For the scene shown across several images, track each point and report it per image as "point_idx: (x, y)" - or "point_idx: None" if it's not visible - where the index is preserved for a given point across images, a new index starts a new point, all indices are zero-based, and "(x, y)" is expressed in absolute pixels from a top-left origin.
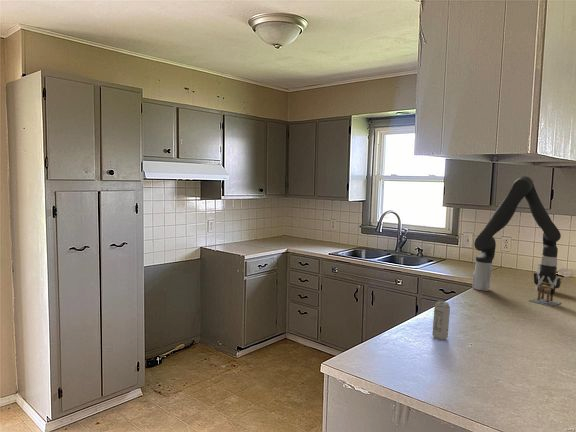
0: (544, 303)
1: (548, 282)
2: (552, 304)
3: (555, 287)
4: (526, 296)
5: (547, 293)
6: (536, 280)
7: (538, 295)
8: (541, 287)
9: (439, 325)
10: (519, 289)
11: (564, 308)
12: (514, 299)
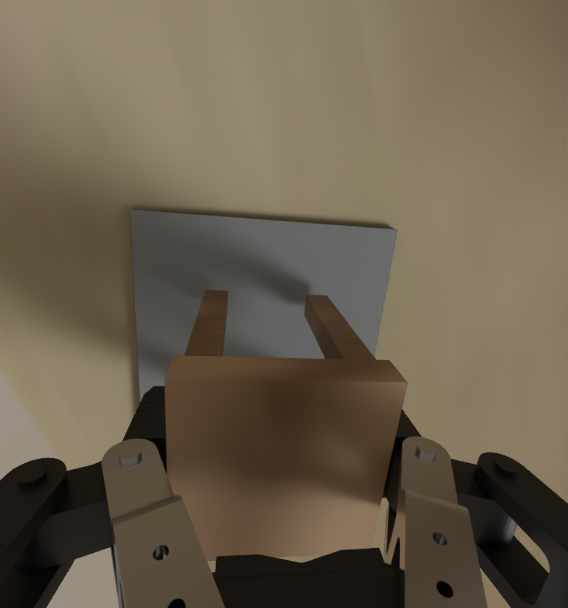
0: (234, 254)
1: (236, 556)
2: (162, 296)
3: (60, 472)
4: (453, 394)
5: (217, 335)
6: (531, 527)
7: (334, 315)
8: (338, 374)
9: None
10: (539, 550)
11: (23, 279)
12: (528, 142)
